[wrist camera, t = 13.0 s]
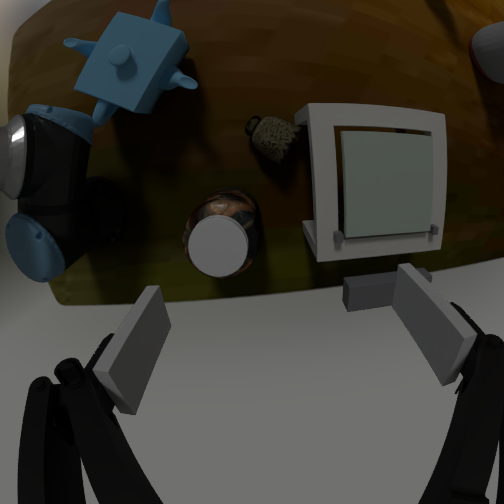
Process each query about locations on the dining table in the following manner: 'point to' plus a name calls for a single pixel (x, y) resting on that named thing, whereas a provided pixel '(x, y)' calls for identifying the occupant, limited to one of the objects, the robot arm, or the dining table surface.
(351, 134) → the trapdoor
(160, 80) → the teakettle
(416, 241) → the frame
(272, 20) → the dining table surface
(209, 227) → the jar
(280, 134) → the cup
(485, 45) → the citrus juicer
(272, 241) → the dining table surface
